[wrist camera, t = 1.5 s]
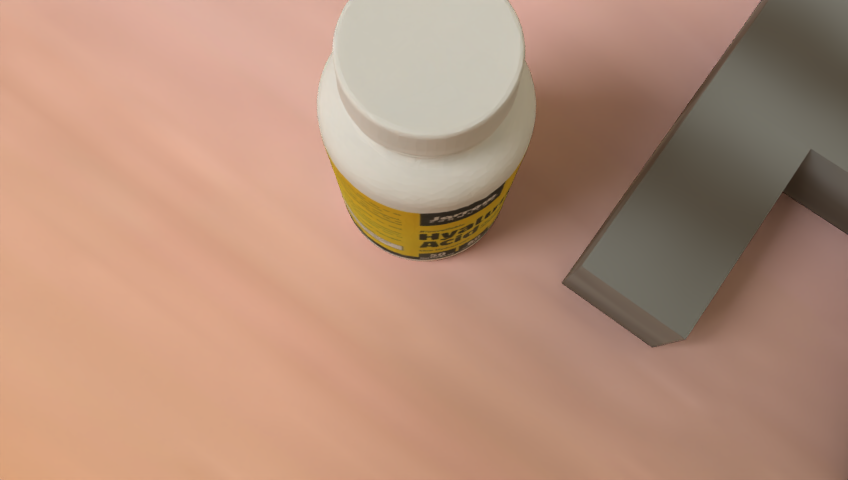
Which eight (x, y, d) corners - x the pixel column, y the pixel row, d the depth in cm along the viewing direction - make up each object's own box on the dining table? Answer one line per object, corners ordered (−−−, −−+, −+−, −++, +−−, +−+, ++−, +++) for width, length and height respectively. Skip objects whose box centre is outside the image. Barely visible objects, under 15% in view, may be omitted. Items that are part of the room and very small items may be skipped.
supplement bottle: (422, 298, 23) (421, 226, 14) (311, 184, 24) (237, 41, 15) (538, 188, 24) (613, 47, 14) (426, 81, 25) (428, -119, 15)
